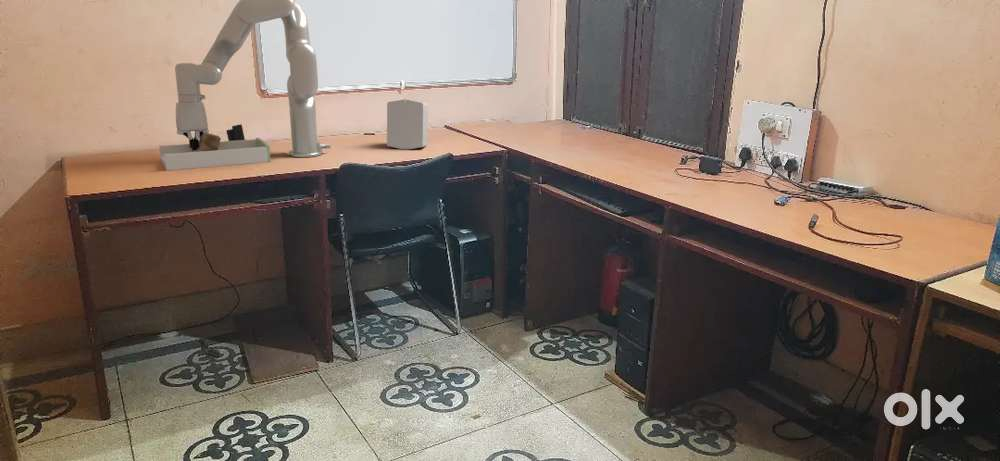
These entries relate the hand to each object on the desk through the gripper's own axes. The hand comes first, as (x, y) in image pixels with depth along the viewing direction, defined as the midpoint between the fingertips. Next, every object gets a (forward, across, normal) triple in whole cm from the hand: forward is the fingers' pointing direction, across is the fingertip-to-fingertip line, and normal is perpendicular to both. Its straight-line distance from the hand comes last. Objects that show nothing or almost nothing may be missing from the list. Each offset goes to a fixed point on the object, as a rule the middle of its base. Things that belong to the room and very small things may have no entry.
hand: (194, 149), depth 262 cm
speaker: (+4, -17, -14) cm, 23 cm away
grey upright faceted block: (+4, -82, +5) cm, 82 cm away
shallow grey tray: (+4, -6, +4) cm, 8 cm away
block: (+1, -4, 0) cm, 4 cm away
